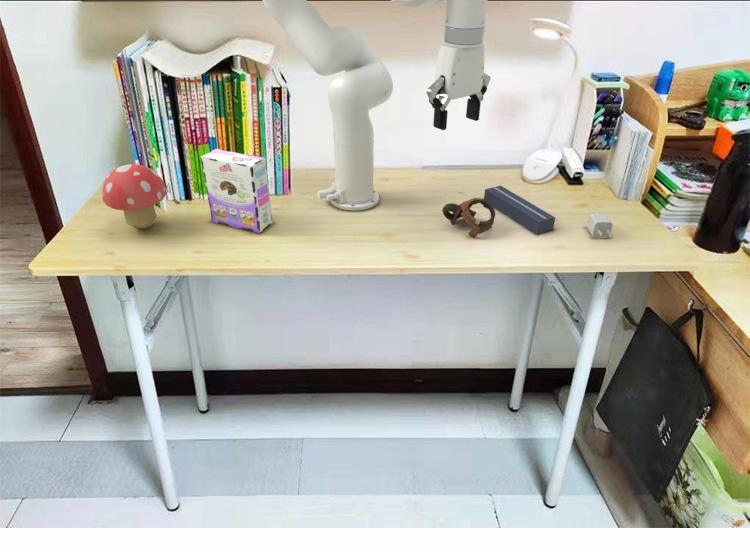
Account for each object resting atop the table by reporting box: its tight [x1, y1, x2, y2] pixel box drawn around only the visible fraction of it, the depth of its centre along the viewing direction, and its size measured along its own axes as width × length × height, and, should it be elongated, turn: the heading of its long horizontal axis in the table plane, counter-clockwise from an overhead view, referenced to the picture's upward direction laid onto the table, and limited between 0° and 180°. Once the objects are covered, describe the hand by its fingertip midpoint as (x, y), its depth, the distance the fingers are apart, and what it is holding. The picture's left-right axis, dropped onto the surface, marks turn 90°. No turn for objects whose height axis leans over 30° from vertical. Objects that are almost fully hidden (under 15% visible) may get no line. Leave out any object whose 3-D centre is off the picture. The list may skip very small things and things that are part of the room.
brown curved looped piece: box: [441, 197, 496, 238], centre depth 129 cm, size 12×10×8 cm
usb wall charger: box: [586, 212, 614, 239], centre depth 127 cm, size 4×7×4 cm, turn 179°
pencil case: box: [483, 185, 556, 235], centre depth 136 cm, size 5×20×3 cm, turn 28°
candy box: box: [200, 148, 273, 234], centre depth 127 cm, size 14×6×16 cm, turn 65°
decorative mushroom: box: [101, 163, 168, 230], centre depth 125 cm, size 13×13×15 cm
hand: (456, 123), depth 117 cm, fingers open, 9 cm apart
